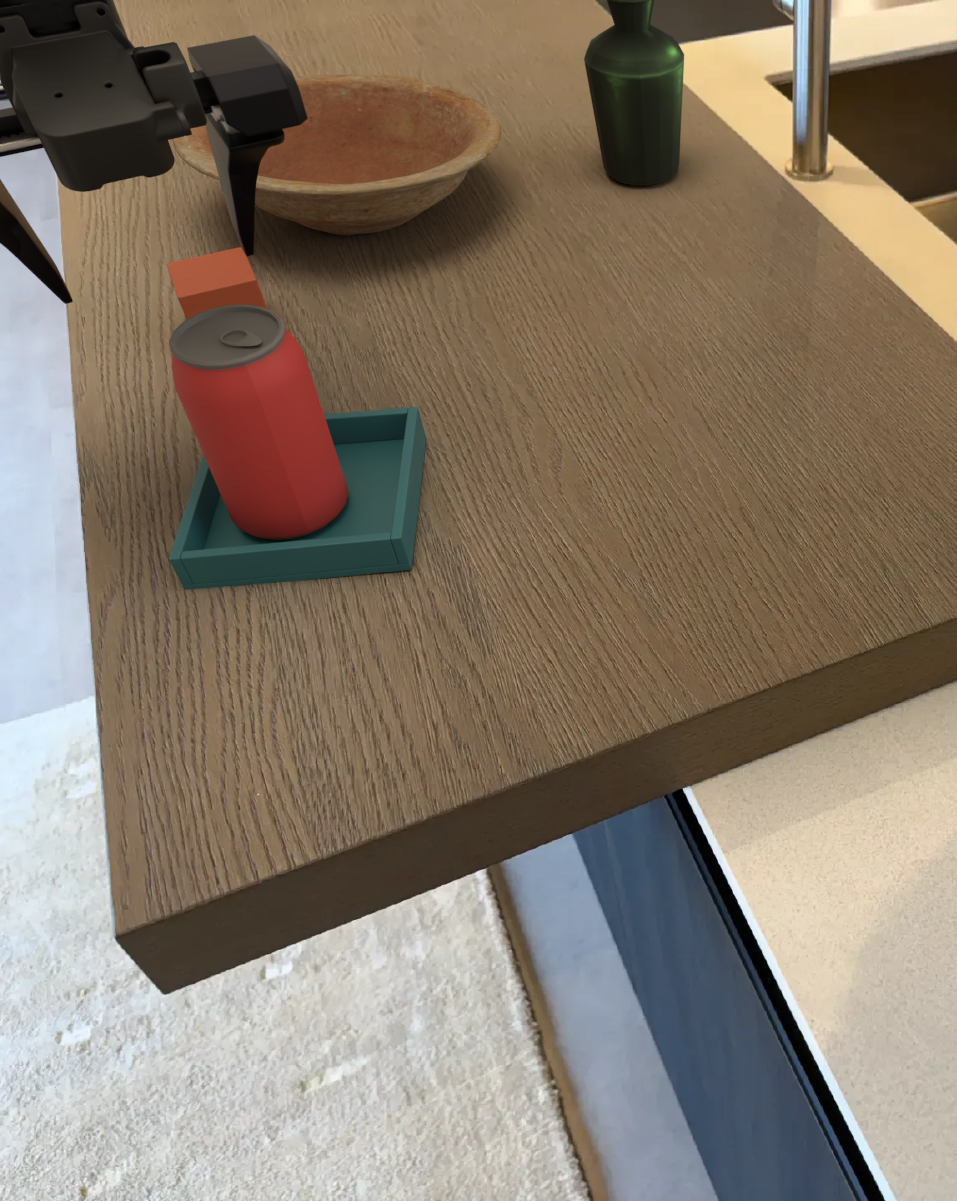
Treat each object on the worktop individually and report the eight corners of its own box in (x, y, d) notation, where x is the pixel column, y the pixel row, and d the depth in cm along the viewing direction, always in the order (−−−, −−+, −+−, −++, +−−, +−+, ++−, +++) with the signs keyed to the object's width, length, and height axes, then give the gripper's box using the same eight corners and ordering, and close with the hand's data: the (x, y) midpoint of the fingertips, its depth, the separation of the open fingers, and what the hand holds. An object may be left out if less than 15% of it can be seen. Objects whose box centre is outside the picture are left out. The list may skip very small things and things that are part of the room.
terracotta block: (204, 361, 78) (177, 297, 74) (193, 326, 81) (166, 262, 77) (280, 342, 80) (256, 279, 76) (265, 308, 83) (242, 245, 79)
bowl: (549, 250, 90) (536, 152, 84) (231, 316, 82) (193, 212, 76) (466, 130, 104) (450, 39, 98) (189, 177, 96) (154, 80, 90)
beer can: (306, 558, 64) (239, 381, 55) (208, 529, 65) (127, 352, 57) (373, 487, 68) (321, 313, 60) (280, 461, 70) (215, 287, 61)
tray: (185, 592, 63) (167, 559, 61) (227, 454, 71) (212, 422, 69) (411, 570, 64) (401, 537, 62) (426, 437, 73) (417, 406, 71)
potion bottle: (706, 177, 98) (700, -53, 85) (622, 199, 95) (604, -36, 82) (659, 141, 103) (647, -82, 90) (578, 161, 99) (553, -68, 87)
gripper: (-226, 60, 42) (-13, 407, 53) (288, -27, 49) (380, 295, 60) (-232, -28, 48) (-41, 298, 59) (223, -93, 55) (317, 209, 66)
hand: (160, 275), depth 61 cm, fingers open, 9 cm apart
